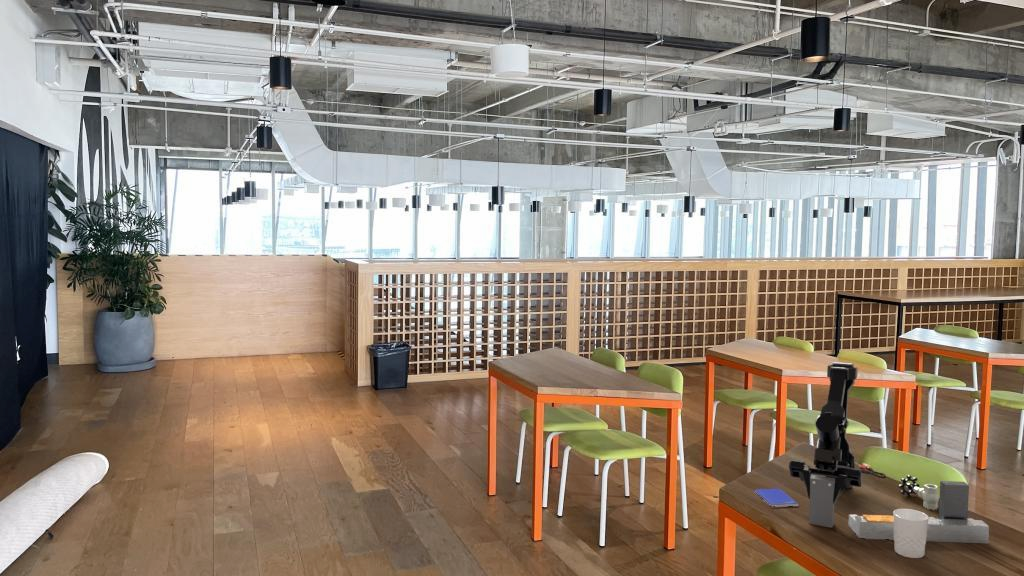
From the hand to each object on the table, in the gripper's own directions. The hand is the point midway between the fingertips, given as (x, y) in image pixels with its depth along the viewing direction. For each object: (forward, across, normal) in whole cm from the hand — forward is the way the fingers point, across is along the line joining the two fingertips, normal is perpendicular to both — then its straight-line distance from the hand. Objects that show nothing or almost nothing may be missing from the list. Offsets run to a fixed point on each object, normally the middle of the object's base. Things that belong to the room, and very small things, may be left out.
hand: (821, 500), depth 211 cm
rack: (0, +23, +10) cm, 25 cm away
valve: (-18, +23, +28) cm, 40 cm away
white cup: (+10, +22, 0) cm, 24 cm away
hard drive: (-5, -15, +16) cm, 22 cm away
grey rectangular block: (+4, 0, +6) cm, 7 cm away
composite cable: (-33, +8, +44) cm, 55 cm away
